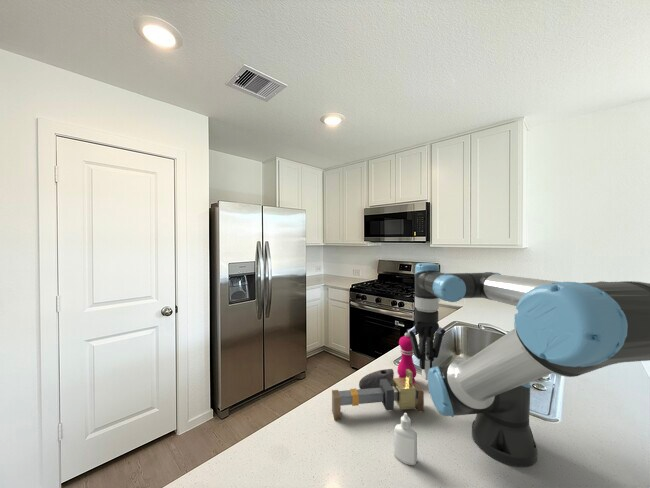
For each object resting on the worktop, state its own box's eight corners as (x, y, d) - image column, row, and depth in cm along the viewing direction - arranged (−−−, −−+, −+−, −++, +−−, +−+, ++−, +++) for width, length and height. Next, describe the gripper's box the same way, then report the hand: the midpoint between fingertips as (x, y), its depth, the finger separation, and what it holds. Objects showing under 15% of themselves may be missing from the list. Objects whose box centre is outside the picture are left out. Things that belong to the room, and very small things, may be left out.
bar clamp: (417, 403, 92) (417, 382, 92) (423, 411, 88) (423, 390, 87) (332, 410, 88) (332, 389, 88) (334, 420, 84) (334, 397, 83)
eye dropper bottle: (407, 470, 66) (407, 423, 65) (391, 454, 71) (391, 410, 70) (419, 463, 68) (420, 417, 67) (403, 447, 73) (403, 405, 72)
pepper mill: (417, 388, 101) (417, 336, 100) (397, 386, 102) (398, 335, 101) (415, 378, 108) (415, 330, 107) (396, 377, 109) (396, 329, 109)
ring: (386, 397, 92) (386, 378, 91) (393, 410, 85) (393, 389, 85) (379, 398, 91) (379, 379, 91) (386, 410, 85) (386, 390, 85)
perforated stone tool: (361, 397, 96) (361, 378, 96) (356, 388, 101) (356, 371, 101) (398, 390, 100) (398, 372, 99) (391, 383, 105) (391, 366, 104)
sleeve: (406, 395, 92) (406, 366, 92) (415, 408, 86) (415, 376, 86) (392, 397, 92) (392, 367, 92) (400, 409, 85) (400, 377, 85)
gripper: (438, 305, 94) (437, 370, 94) (403, 306, 92) (402, 373, 93) (451, 311, 86) (450, 382, 87) (412, 313, 85) (412, 385, 85)
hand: (425, 377), depth 90 cm, fingers closed
